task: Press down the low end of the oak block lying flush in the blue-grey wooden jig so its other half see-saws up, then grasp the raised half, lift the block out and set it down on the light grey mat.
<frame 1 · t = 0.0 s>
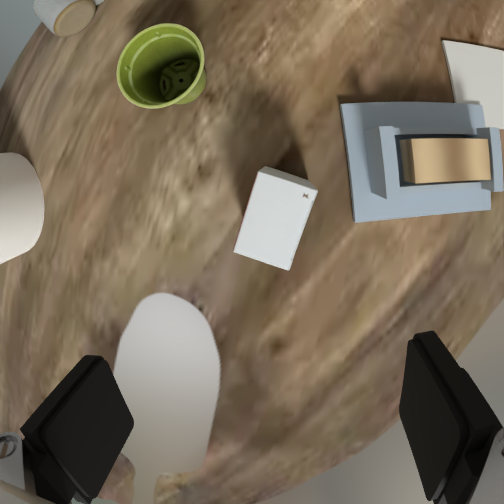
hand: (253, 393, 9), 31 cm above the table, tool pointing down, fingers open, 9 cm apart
cylinder: (11, 203, 42), on the table
ceramic mug: (84, 8, 33), on the table
plant pot: (183, 81, 35), on the table
small box: (276, 204, 39), on the table
mat: (494, 87, 30), on the table
jig: (423, 158, 35), on the table
oak block: (440, 158, 31), point 4 cm above the table, touching jig
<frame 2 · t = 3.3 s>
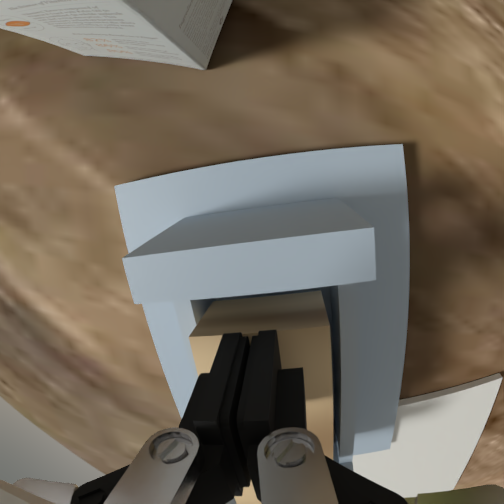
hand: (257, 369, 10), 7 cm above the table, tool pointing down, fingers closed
small box: (157, 19, 14), on the table
mat: (414, 458, 20), on the table
jig: (280, 341, 18), on the table
oak block: (279, 394, 14), point 4 cm above the table, tilted 5°, touching gripper, jig
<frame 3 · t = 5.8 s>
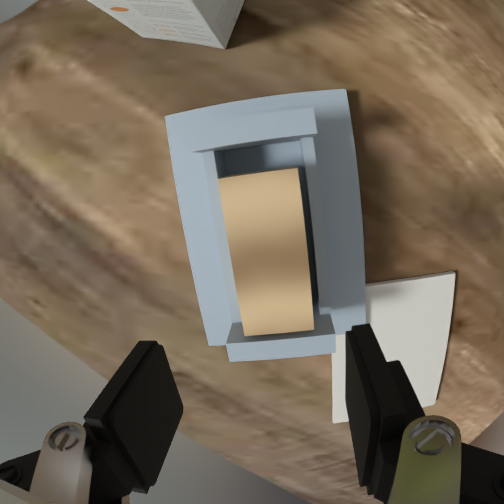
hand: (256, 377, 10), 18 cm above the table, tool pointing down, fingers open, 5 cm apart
small box: (193, 17, 22), on the table
mat: (391, 355, 28), on the table
jig: (272, 224, 26), on the table
oak block: (271, 243, 22), point 4 cm above the table, touching jig
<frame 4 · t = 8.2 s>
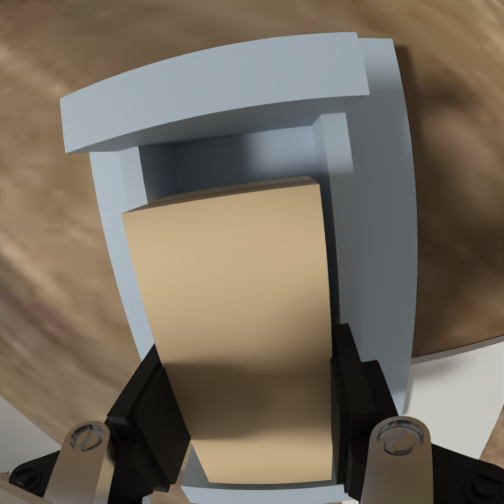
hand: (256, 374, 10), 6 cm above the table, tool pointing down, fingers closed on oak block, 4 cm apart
mat: (427, 438, 18), on the table
jig: (264, 274, 15), on the table
oak block: (258, 325, 12), point 4 cm above the table, touching gripper, jig
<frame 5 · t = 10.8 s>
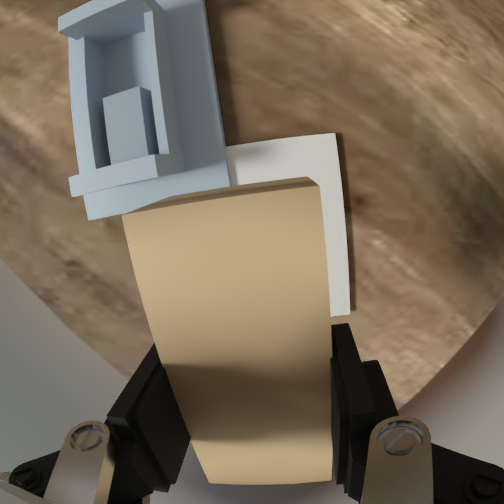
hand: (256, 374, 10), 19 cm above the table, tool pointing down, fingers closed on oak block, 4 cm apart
mat: (275, 235, 28), on the table
jig: (140, 99, 25), on the table
oak block: (258, 326, 12), point 17 cm above the table, touching gripper
when the fingers open (7 cm above the table, at t = 13.3 s): oak block drops 4 cm, resting on mat.
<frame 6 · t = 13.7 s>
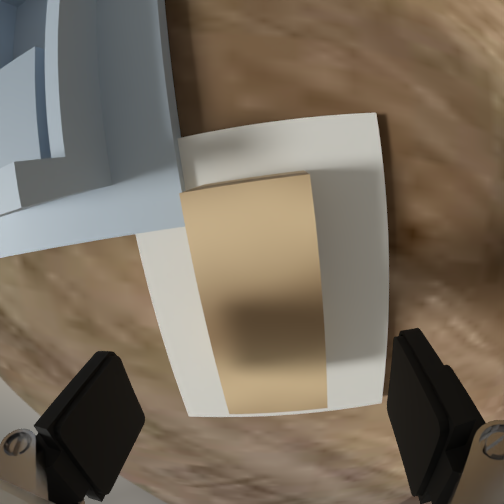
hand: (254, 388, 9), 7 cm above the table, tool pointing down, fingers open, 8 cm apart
mat: (268, 291, 16), on the table
jig: (57, 72, 14), on the table
oak block: (268, 283, 15), point 1 cm above the table, touching mat
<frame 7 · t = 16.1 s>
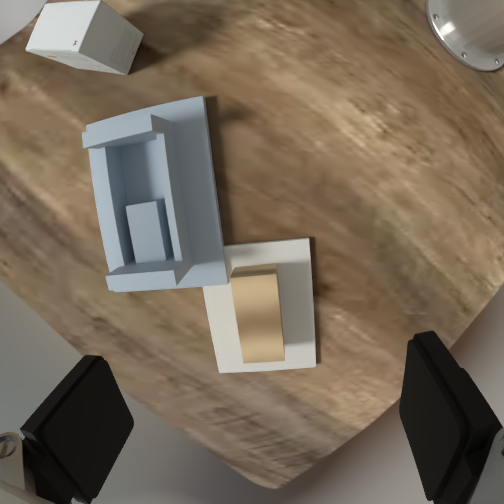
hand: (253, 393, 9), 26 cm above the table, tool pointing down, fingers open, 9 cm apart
small box: (110, 52, 30), on the table
mat: (260, 311, 37), on the table
jig: (154, 199, 34), on the table
oak block: (260, 307, 36), point 1 cm above the table, touching mat
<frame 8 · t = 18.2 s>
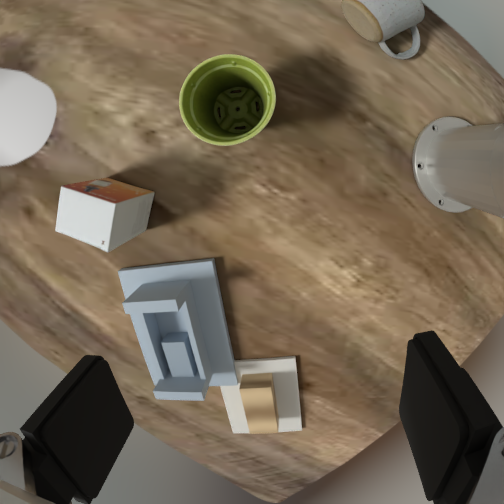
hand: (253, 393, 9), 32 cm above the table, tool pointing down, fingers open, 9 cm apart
ceramic mug: (382, 26, 32), on the table
plant pot: (238, 110, 37), on the table
small box: (126, 203, 42), on the table
mat: (261, 398, 48), on the table
jig: (180, 328, 46), on the table
oak block: (261, 397, 47), point 1 cm above the table, touching mat
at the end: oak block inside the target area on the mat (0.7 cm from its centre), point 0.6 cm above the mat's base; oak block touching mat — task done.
